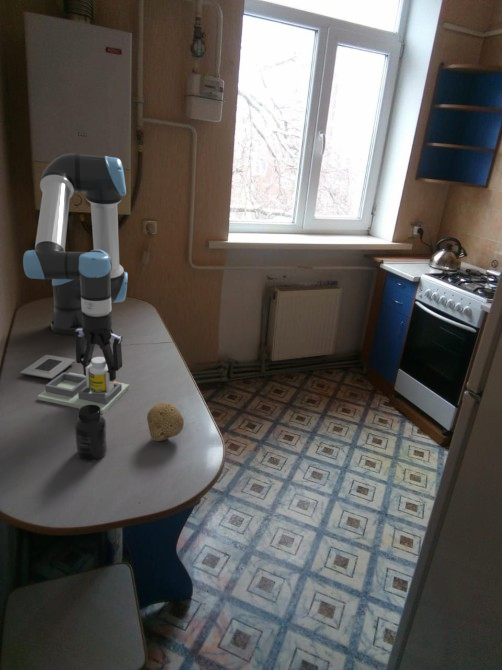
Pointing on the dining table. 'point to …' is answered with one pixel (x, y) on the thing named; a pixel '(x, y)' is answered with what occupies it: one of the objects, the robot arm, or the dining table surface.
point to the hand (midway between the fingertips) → (100, 387)
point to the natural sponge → (164, 421)
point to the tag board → (79, 392)
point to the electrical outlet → (48, 366)
